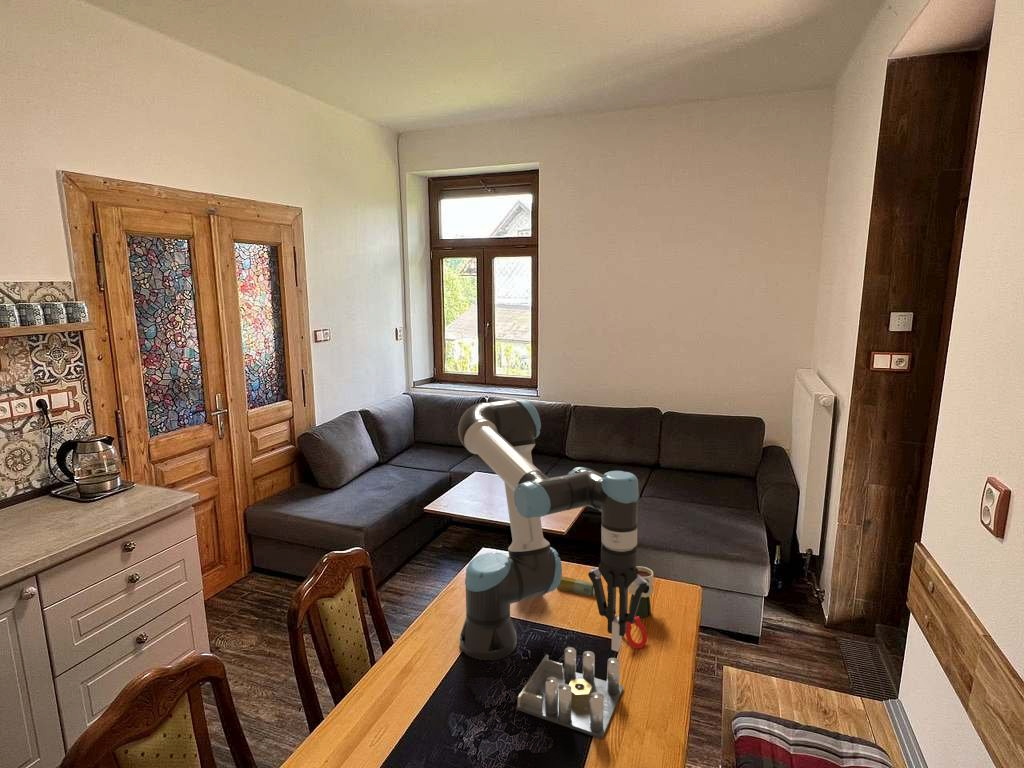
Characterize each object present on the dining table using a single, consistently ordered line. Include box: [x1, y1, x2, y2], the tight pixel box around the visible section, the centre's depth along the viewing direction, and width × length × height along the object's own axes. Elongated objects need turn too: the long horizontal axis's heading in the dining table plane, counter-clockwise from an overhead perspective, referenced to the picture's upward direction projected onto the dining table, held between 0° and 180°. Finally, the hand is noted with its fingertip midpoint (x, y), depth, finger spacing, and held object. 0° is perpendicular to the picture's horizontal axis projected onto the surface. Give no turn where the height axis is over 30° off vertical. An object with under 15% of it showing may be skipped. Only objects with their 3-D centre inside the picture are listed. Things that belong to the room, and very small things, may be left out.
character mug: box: [628, 565, 654, 618], centre depth 164 cm, size 11×7×13 cm, turn 132°
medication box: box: [556, 575, 595, 597], centre depth 176 cm, size 12×3×4 cm, turn 67°
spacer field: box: [516, 646, 624, 740], centre depth 129 cm, size 20×17×8 cm
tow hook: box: [625, 616, 648, 649], centre depth 153 cm, size 7×10×7 cm
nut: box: [569, 679, 592, 707], centre depth 128 cm, size 5×6×3 cm
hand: (616, 647), depth 122 cm, fingers closed
